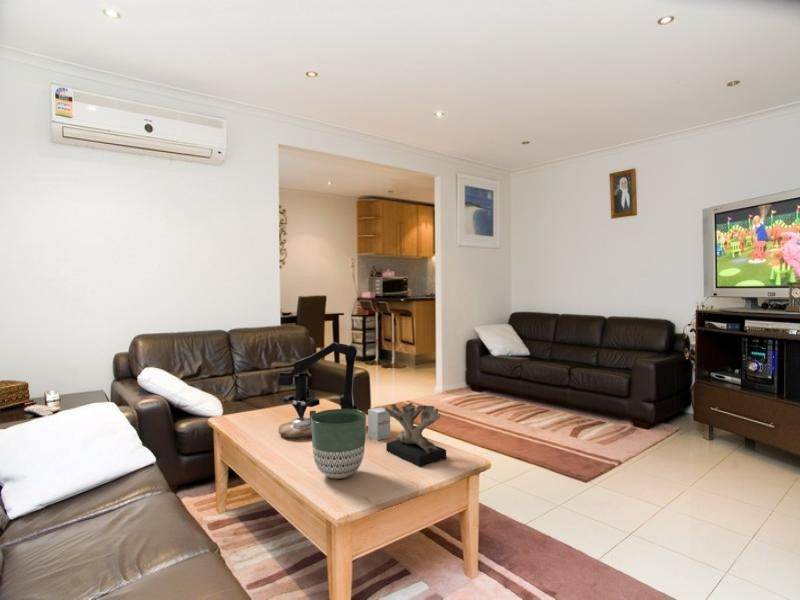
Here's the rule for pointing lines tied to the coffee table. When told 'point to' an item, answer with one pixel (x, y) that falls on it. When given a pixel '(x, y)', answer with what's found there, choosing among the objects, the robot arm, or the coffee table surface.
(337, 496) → the coffee table surface
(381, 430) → the supplement box
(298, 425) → the cover
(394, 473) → the coffee table surface
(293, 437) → the turntable base
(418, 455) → the coral
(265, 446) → the coffee table surface
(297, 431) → the turntable
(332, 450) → the planter
